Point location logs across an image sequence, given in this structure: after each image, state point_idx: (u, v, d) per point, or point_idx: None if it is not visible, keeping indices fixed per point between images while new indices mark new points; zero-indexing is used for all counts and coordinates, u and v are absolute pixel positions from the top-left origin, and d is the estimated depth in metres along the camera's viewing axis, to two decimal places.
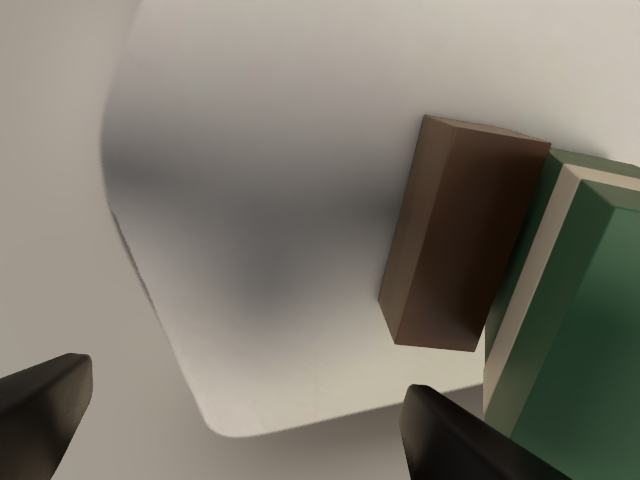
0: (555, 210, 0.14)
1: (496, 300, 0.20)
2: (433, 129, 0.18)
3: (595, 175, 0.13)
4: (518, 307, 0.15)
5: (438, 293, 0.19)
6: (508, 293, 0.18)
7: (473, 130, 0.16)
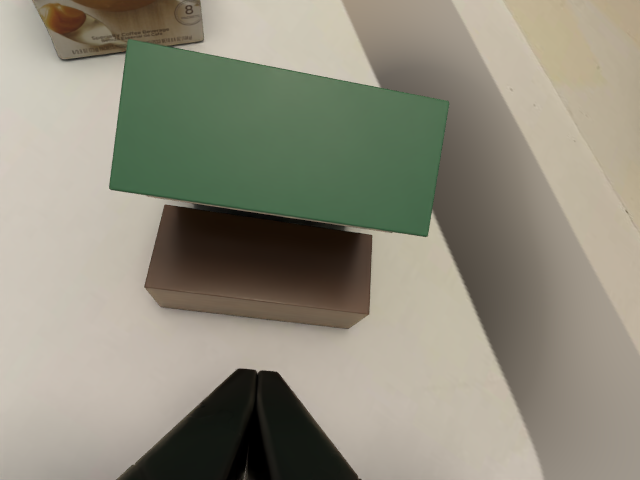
0: None
1: None
2: (163, 300, 0.20)
3: None
4: None
5: (309, 279, 0.19)
6: None
7: (148, 271, 0.18)
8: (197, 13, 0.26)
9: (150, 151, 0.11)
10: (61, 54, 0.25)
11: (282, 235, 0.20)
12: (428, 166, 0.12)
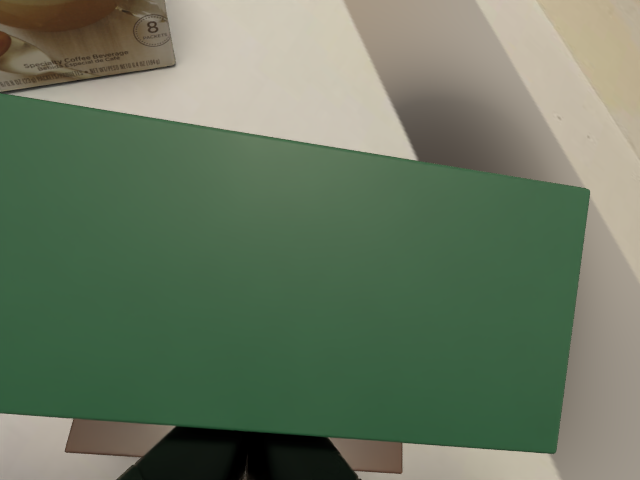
0: None
1: None
2: None
3: None
4: None
5: None
6: None
7: (73, 424, 0.12)
8: (164, 31, 0.20)
9: None
10: None
11: None
12: (553, 315, 0.06)
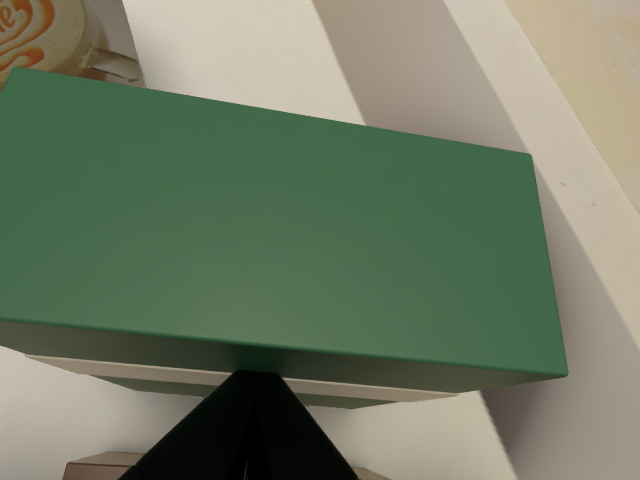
0: (113, 371, 0.10)
1: (326, 401, 0.15)
2: None
3: None
4: None
5: None
6: None
7: None
8: None
9: (10, 232, 0.06)
10: None
11: None
12: (529, 246, 0.07)
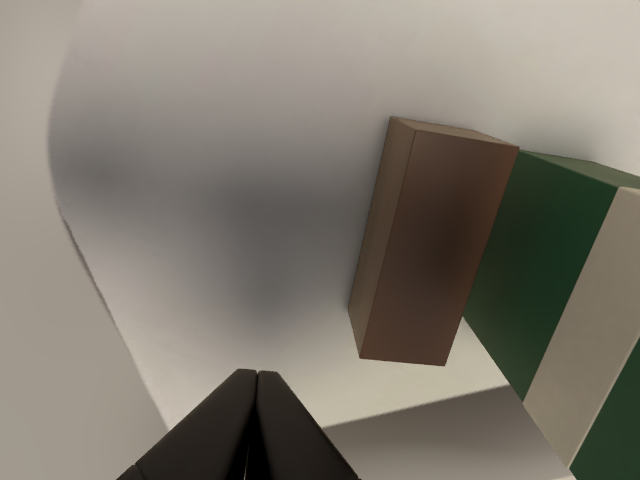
0: (638, 244, 0.12)
1: (498, 318, 0.19)
2: (397, 132, 0.17)
3: None
4: (594, 349, 0.14)
5: (403, 305, 0.18)
6: (535, 318, 0.17)
7: (435, 133, 0.15)
8: None
9: None
10: None
11: (457, 279, 0.17)
12: None
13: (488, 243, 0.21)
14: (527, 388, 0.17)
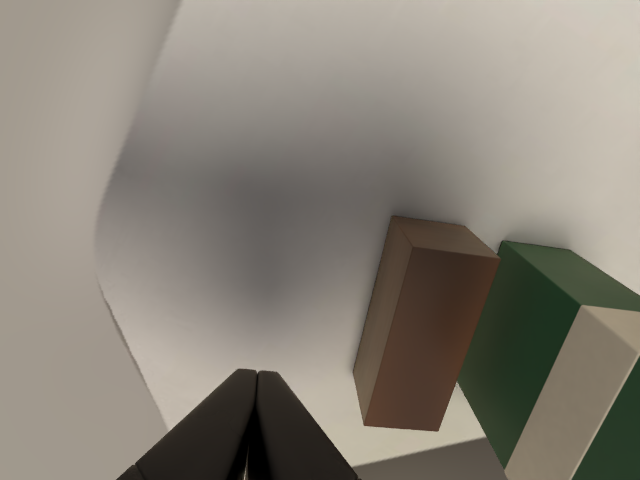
0: (594, 360, 0.15)
1: (485, 389, 0.22)
2: (397, 235, 0.20)
3: (631, 334, 0.15)
4: (560, 439, 0.16)
5: (402, 383, 0.20)
6: (515, 398, 0.19)
7: (429, 249, 0.18)
8: None
9: None
10: None
11: (449, 362, 0.20)
12: None
13: None
14: (508, 458, 0.19)
